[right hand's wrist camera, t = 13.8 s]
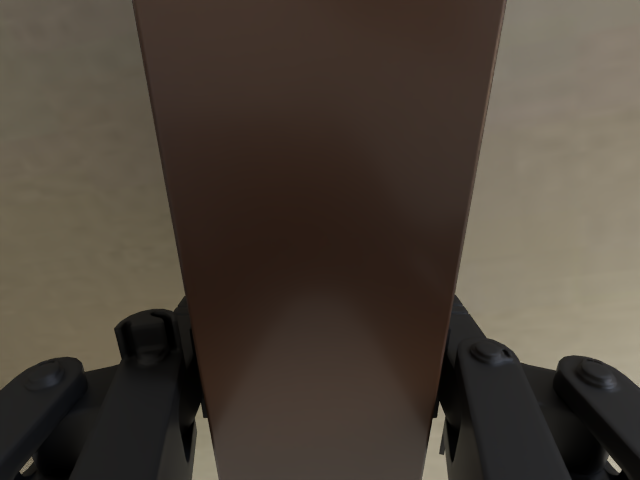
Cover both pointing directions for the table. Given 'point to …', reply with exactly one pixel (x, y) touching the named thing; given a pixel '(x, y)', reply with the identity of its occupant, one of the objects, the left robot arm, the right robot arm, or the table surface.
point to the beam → (319, 216)
